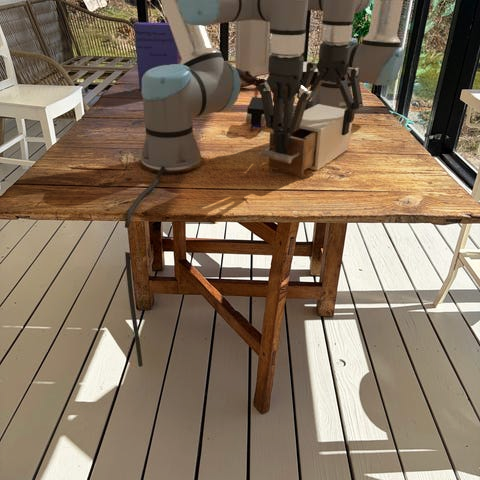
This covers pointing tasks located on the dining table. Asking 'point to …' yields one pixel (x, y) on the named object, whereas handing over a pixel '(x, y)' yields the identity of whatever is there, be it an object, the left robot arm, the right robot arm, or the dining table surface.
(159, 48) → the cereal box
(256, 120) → the figurine character
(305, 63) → the disc drive
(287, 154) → the drawer
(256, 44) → the tall white carton
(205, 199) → the dining table surface
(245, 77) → the figurine
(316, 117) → the cabinet
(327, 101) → the right robot arm
